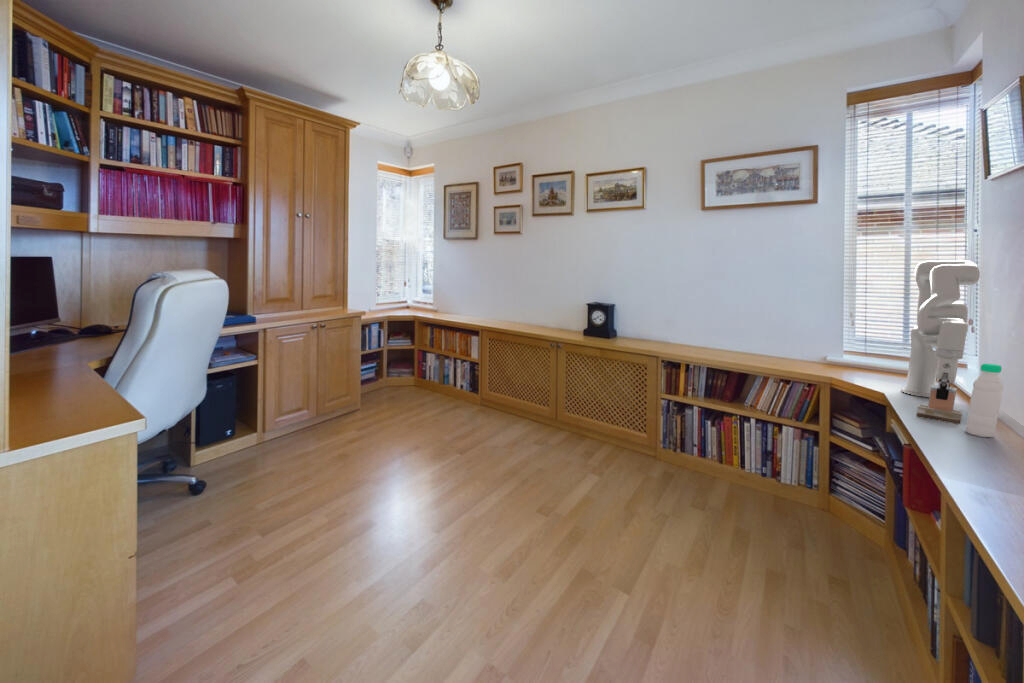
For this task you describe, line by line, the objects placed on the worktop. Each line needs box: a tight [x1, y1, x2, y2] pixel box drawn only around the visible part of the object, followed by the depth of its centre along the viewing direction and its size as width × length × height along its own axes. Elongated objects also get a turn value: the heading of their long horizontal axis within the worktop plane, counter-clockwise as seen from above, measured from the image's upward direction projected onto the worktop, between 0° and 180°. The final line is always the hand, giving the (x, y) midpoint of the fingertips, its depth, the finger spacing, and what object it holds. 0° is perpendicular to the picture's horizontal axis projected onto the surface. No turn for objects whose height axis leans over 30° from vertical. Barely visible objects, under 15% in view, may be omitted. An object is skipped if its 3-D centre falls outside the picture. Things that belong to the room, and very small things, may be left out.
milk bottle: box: [965, 363, 1004, 438], centre depth 151 cm, size 7×7×25 cm
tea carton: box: [927, 384, 958, 412], centre depth 170 cm, size 5×7×10 cm
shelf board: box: [916, 404, 963, 425], centre depth 171 cm, size 14×12×4 cm
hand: (942, 396), depth 170 cm, fingers open, 9 cm apart
